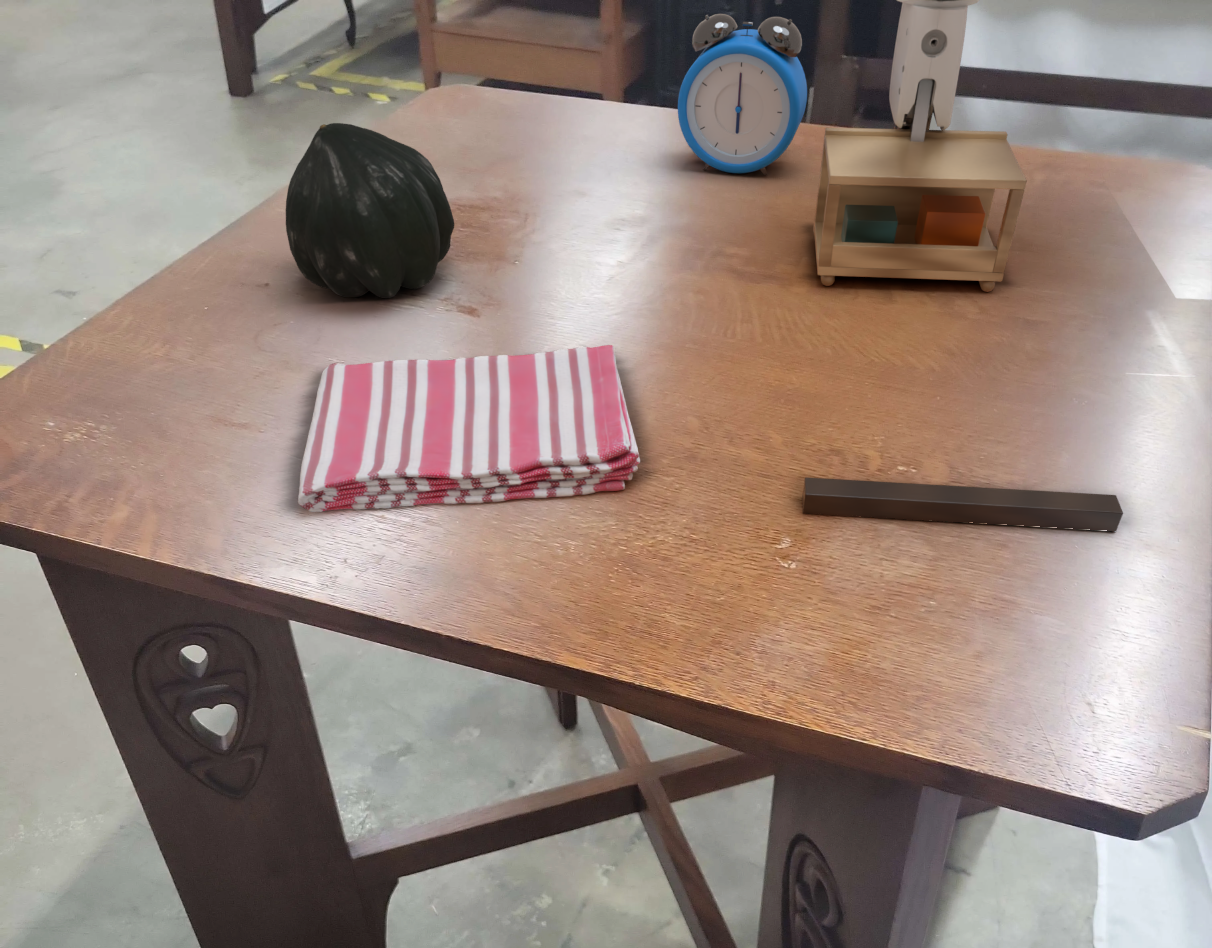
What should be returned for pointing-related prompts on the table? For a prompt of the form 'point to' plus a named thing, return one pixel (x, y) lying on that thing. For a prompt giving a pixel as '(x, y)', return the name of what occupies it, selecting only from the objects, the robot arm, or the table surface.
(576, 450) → the dish towel
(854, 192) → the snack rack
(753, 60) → the alarm clock
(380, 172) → the squash
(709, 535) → the table surface
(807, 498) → the edge strip
